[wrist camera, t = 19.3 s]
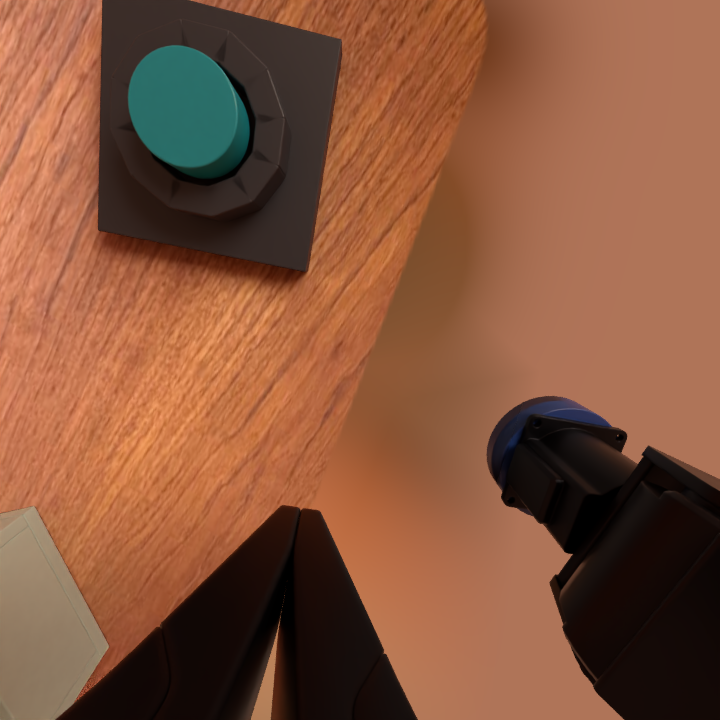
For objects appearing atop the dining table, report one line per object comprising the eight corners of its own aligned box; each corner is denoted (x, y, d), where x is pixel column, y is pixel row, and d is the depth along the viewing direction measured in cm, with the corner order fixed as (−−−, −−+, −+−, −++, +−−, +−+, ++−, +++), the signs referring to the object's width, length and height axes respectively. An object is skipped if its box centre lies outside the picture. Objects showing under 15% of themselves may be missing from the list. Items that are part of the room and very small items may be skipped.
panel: (342, 55, 16) (341, 9, 14) (308, 271, 19) (300, 272, 16) (120, -2, 16) (68, -64, 13) (113, 232, 18) (68, 225, 15)
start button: (255, 84, 14) (243, 59, 13) (244, 188, 15) (231, 178, 14) (155, 60, 14) (129, 31, 12) (149, 168, 15) (124, 155, 13)
